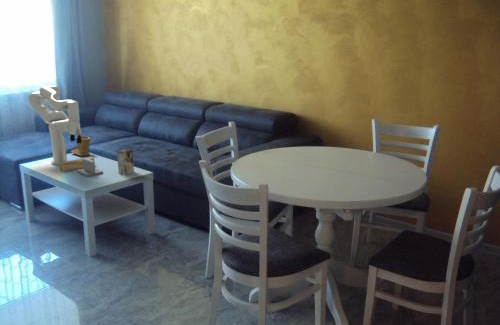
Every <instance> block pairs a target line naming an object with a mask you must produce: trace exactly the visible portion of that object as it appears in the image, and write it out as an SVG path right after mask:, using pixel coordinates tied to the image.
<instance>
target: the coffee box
mask: <svg viewBox="0 0 500 325" xmlns="http://www.w3.org/2000/svg"><path fill="white" fill-rule="evenodd" d="M116 153H117V157H116V158H117V167H118V168H117V170H118V174H119V175H124V176H125V175H127V174H128V175H129V174H132V173H134V172H135V169H134V152H133V150H132V149H127V148H125V149H123V150H119V151H116Z"/></svg>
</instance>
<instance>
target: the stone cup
mask: <svg viewBox="0 0 500 325" xmlns="http://www.w3.org/2000/svg"><path fill="white" fill-rule="evenodd" d="M81 142H82V143H77V142H76V144H77V148H74V149H71V151H70V152H71V153H73V154H75V155H77V156H81V157H84V156H88V155H90V154H91V153H90V152H89V147H90V144H91V137H89V136H85V135H82V136H81Z"/></svg>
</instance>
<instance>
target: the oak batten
mask: <svg viewBox="0 0 500 325" xmlns="http://www.w3.org/2000/svg"><path fill="white" fill-rule="evenodd" d="M83 158H84V157H83ZM83 158H78V159H72V160H69V161H66V162H61V163H60V164H59V165H60V171H61V172H64V173H65V172H68V171H74V170H75V171H76V170H79V169H84V166H83ZM86 158H87V159H90V160H92V161H94V162H95V157H93V156H88V157H86Z"/></svg>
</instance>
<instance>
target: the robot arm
mask: <svg viewBox="0 0 500 325" xmlns="http://www.w3.org/2000/svg"><path fill="white" fill-rule="evenodd" d="M27 99H28V103H29V105H30V107H31V108H32V109H33V110H35V112H36V113H37V114H39V116H40V117H41V119H42V120H43V121H44V123H45V124H48V130H49V134H50V139H51V149H52V160H51V164H52V165H60V163H61V162H66V161H70V159H68V155H67V147H66V146H67V145H66V139H65V137H64V135H62V134H64V133H65V134H66V133H69V138H70V142H74V141H76V144H77V143H82V142H81V136H83V135H82V130H81V123H80V109H79V101H77V100H73V99H61V88H60V87H59V86H58V85H56V84H51V85H50V84H49V85H42V86H41V87H39V90H38V91H34V92H30V93H29V94H28V98H27ZM60 99H61V100H60ZM47 102H48V104H49V106H50V108H49V106H48V105H46V104H45V103H47ZM51 109H53V110H51ZM64 111H65V112H66V111H67V114H66V113H65V112H64ZM75 136H76V137H75Z"/></svg>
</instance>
